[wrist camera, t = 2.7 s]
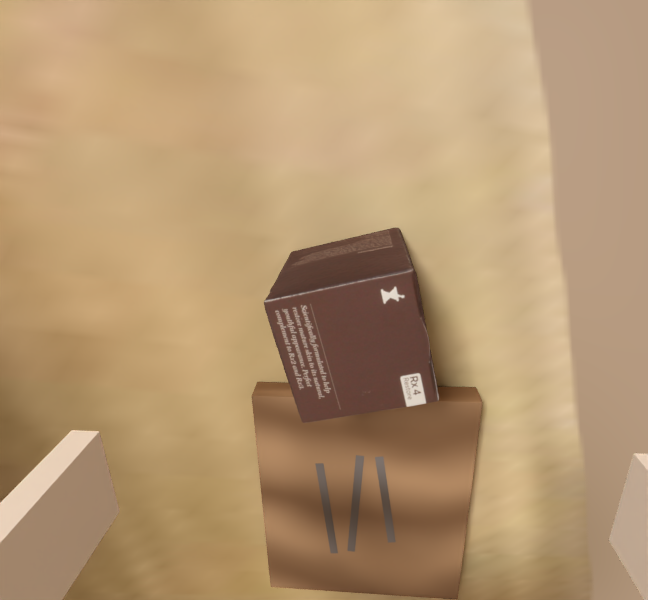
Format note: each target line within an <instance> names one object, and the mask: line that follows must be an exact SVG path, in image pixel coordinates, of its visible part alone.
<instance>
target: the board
mask: <svg viewBox="0 0 648 600" xmlns="http://www.w3.org/2000/svg"><path fill="white" fill-rule="evenodd" d="M437 388H438V393H439V401H437V402H431V403H426V404H421V405H416V406H410V407H403V408H396V409H390V410H383V411H376V412H370V413H364V414H358V415H352V416H346V417H340V418H334V419H328V420H322V421H316V422H309V423H303V422H302V420H301V418H300V415H299V412H298V409H297V406H296V403H295V400H294V397H293V394H292V390H291V388H290V384H289V383H279V382H257V385H256V387H255V389H254V392H253V394H252V403H253V413H254V423H255V433H256V443H257V453H258V463H259V473H260V483H261V493H262V503H263V513H264V523H265V533H266V543H267V553H268V563H269V573H270V583H271V587H280V588H295V589H310V590H325V591H340V592H354V593H369V594H384V595H399V596H414V597H428V598H443V599H458V591H459V583H460V575H461V567H462V559H463V551H464V544H465V536H466V528H467V520H468V512H469V504H470V496H471V488H472V480H473V473H474V465H475V457H476V449H477V441H478V433H479V425H480V417H481V409H482V400H481V398H480V396H479V393H478V391H477V389H476V387H438V386H437Z"/></svg>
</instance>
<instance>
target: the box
mask: <svg viewBox="0 0 648 600" xmlns="http://www.w3.org/2000/svg"><path fill="white" fill-rule="evenodd" d="M264 305H265V310H266V313H267V316H268V319H269V323H270V326H271V329H272V332H273V336H274V339H275V342H276V345H277V348H278V351H279V354H280V357H281V360H282V363H283V366H284V370H285V373H286V376H287V379H288V382H289V384H290V388H291V390H292V394H293V397H294V400H295V403H296V406H297V409H298V412H299V415H300V418H301V420H302V422H303V423H309V422H316V421H322V420H328V419H334V418H340V417H346V416H352V415H358V414H364V413H370V412H376V411H383V410H390V409H396V408H403V407H410V406H416V405H421V404H426V403H431V402H437V401H439V393H438V388H437V382H436V377H435V372H434V366H433V361H432V356H431V351H430V344H429V337H428V333H427V329H426V324H425V319H424V313H423V308H422V302H421V296H420V291H419V285H418V281H417V275H416V272H415V270H414V267H413V264H412V261H411V258H410V255H409V252H408V249H407V246H406V244H405V242H404V239H403V237H402V234H401V231H400V229H399V228H392V229H388V230H383V231H379V232H374V233H371V234H366V235H362V236H358V237H353V238H349V239H345V240H341V241H336V242H331V243H328V244H323V245H319V246H315V247H311V248H306V249H302V250H298V251H293V252H291V254H290V256H289V258H288V260H287V261H286V263H285V265H284V266H283V269H282V270H281V272H280V274H279V276H278V278H277V280H276V282H275V283H274V285H273V287H272V288H271V291H270V294H269V295H268V297H267V298H266V300H265V301H264Z"/></svg>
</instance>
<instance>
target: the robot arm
mask: <svg viewBox="0 0 648 600" xmlns="http://www.w3.org/2000/svg"><path fill="white" fill-rule="evenodd" d="M119 512H120V511H119V507H118V503H117V499H116V495H115V491H114V487H113V483H112V479H111V475H110V471H109V468H108V464H107V460H106V456H105V452H104V448H103V444H102V440H101V436H100V432H99V431H77V430H71V431H70V432H69V433H68V435H67V436H66V437H65V438H64V439H63V440H62V441H61V442H60V443H59V444H58V445H57V446H56V447H55V448H54V449H53V450H52V451H51V452H50V453H49V454H48V455H47V456H46V457H45V458H44V459H43V460H42V461H41V462H40V463H39V464H38V465H37V466H36V467H35V468H34V469H33V470H32V471H31V472H30V473H29V474H28V475H27V476H26V477H25V478H24V479H23V480H22V481H21V482H20V483H19V484H18V485H17V486H16V487H15V488H14V489H13V490H12V491H11V492H10V493H9V494H8V495H7V496H6V497H5V498H4V500H3V501H2V502H1V503H0V600H63V598H64V596H65V595H66V593H67V592H68V590H69V589H70V587H71V586H72V584H73V583H74V581H75V580H76V578H77V576H78V575H79V573H80V572H81V570H82V569H83V567H84V566H85V564H86V563H87V561H88V560H89V558H90V556H91V555H92V553H93V552H94V550H95V549H96V547H97V546H98V544H99V543H100V541H101V539H102V538H103V536H104V535H105V533H106V532H107V530H108V529H109V527H110V526H111V524H112V523H113V521H114V519H115V518H116V516H117V515H118V513H119ZM609 542H610V544H611V545H612V547H613V548H614V550H615V552H616V554H617V555H618V557H619V559H620V561H621V562H622V564H623V566H624V567H625V569H626V571H627V572H628V574H629V575H630V578H631V579H632V581H633V583H634V584H635V586H636V588H637V589H638V591H639V593H640V595H641V596H642V598H643V600H648V454H635V453H634V454H633V458H632V461H631V464H630V468H629V471H628V475H627V478H626V482H625V485H624V489H623V493H622V496H621V499H620V503H619V506H618V510H617V513H616V517H615V520H614V524H613V527H612V530H611V534H610V537H609Z"/></svg>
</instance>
